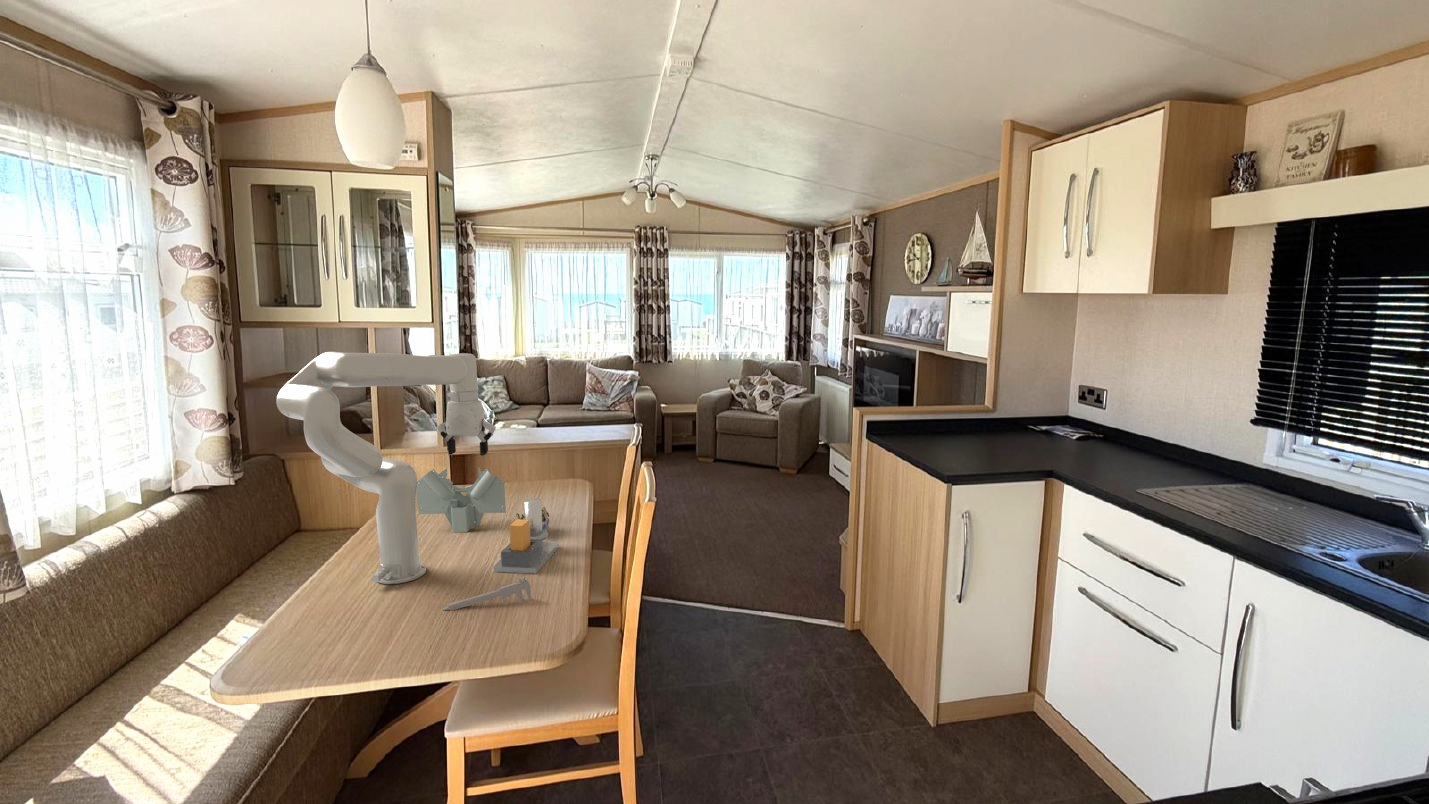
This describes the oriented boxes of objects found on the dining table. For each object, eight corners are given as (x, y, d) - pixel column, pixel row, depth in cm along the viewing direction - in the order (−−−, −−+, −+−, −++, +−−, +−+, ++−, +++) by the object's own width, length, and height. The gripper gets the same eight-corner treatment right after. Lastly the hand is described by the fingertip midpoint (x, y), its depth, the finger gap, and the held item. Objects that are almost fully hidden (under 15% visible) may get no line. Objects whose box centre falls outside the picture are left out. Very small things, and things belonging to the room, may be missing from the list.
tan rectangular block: (523, 564, 184) (521, 526, 182) (511, 563, 184) (509, 525, 183) (530, 557, 189) (529, 519, 187) (519, 556, 189) (517, 519, 187)
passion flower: (544, 551, 212) (547, 529, 203) (509, 546, 210) (510, 524, 202) (551, 521, 220) (553, 499, 212) (517, 517, 218) (518, 494, 210)
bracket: (509, 523, 220) (506, 464, 217) (503, 531, 213) (500, 470, 210) (424, 525, 219) (419, 465, 215) (415, 533, 212) (411, 471, 208)
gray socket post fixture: (536, 573, 181) (533, 518, 179) (493, 571, 183) (490, 517, 180) (559, 547, 200) (557, 497, 198) (520, 545, 201) (518, 496, 199)
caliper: (530, 599, 167) (529, 575, 166) (531, 601, 166) (530, 577, 165) (443, 610, 161) (441, 585, 160) (442, 612, 160) (441, 587, 159)
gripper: (429, 398, 191) (433, 456, 194) (487, 399, 189) (490, 458, 192) (442, 394, 198) (446, 450, 201) (498, 395, 197) (501, 451, 199)
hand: (467, 454), depth 197 cm, fingers open, 9 cm apart
